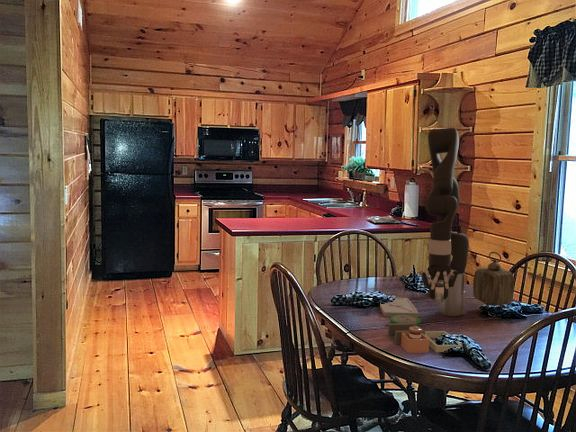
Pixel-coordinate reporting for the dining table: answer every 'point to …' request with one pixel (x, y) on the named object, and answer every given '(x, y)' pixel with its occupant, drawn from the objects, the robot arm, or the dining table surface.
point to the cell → (439, 291)
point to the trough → (439, 347)
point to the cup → (415, 344)
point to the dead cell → (415, 332)
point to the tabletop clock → (493, 284)
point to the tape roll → (405, 319)
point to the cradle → (399, 331)
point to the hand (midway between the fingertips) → (438, 298)
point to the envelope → (399, 308)
